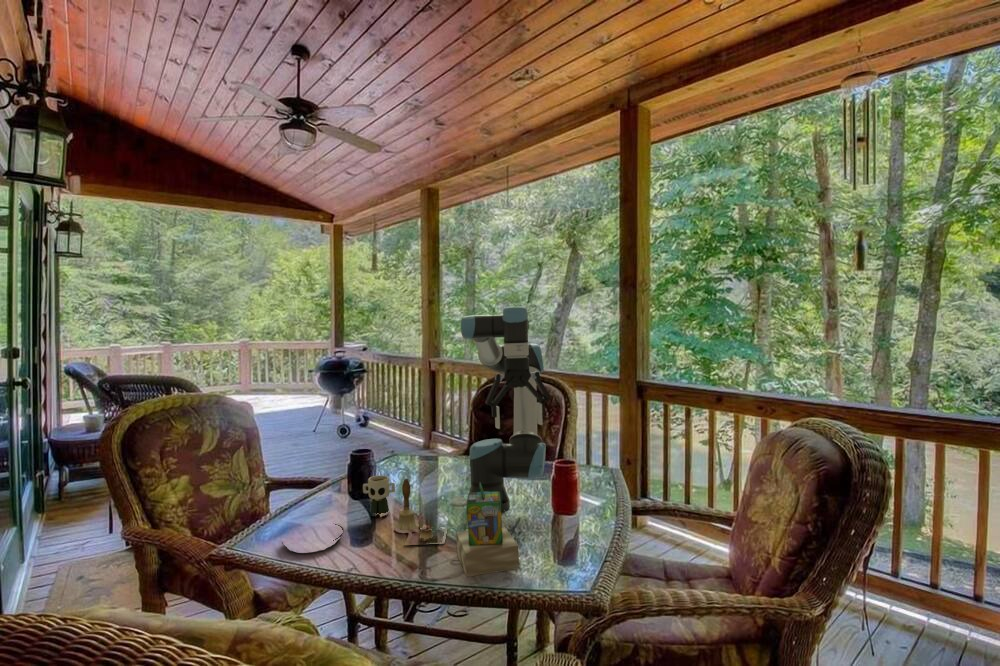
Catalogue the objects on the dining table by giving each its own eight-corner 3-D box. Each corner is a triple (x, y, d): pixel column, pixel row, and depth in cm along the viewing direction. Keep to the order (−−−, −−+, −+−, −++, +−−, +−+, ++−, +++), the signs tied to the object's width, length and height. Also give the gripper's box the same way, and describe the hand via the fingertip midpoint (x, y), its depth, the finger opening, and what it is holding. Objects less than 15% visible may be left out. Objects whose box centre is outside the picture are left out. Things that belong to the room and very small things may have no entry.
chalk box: (503, 545, 133) (501, 488, 133) (468, 546, 133) (466, 490, 133) (502, 531, 143) (500, 478, 142) (469, 532, 142) (467, 479, 142)
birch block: (456, 553, 143) (456, 532, 143) (504, 546, 146) (504, 525, 146) (466, 576, 129) (465, 553, 129) (519, 568, 133) (518, 545, 133)
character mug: (361, 520, 171) (359, 481, 171) (366, 512, 178) (365, 475, 178) (393, 519, 171) (392, 480, 171) (397, 511, 178) (396, 474, 178)
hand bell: (410, 521, 168) (408, 473, 168) (425, 528, 162) (423, 478, 162) (388, 529, 162) (386, 479, 162) (403, 536, 156) (401, 485, 156)
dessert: (447, 530, 161) (447, 515, 161) (444, 547, 149) (444, 530, 149) (409, 532, 160) (409, 517, 160) (403, 549, 148) (403, 532, 148)
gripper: (479, 359, 149) (482, 431, 149) (559, 355, 155) (561, 424, 155) (474, 358, 156) (476, 427, 156) (550, 354, 162) (552, 420, 163)
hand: (519, 426), depth 156 cm, fingers open, 13 cm apart
